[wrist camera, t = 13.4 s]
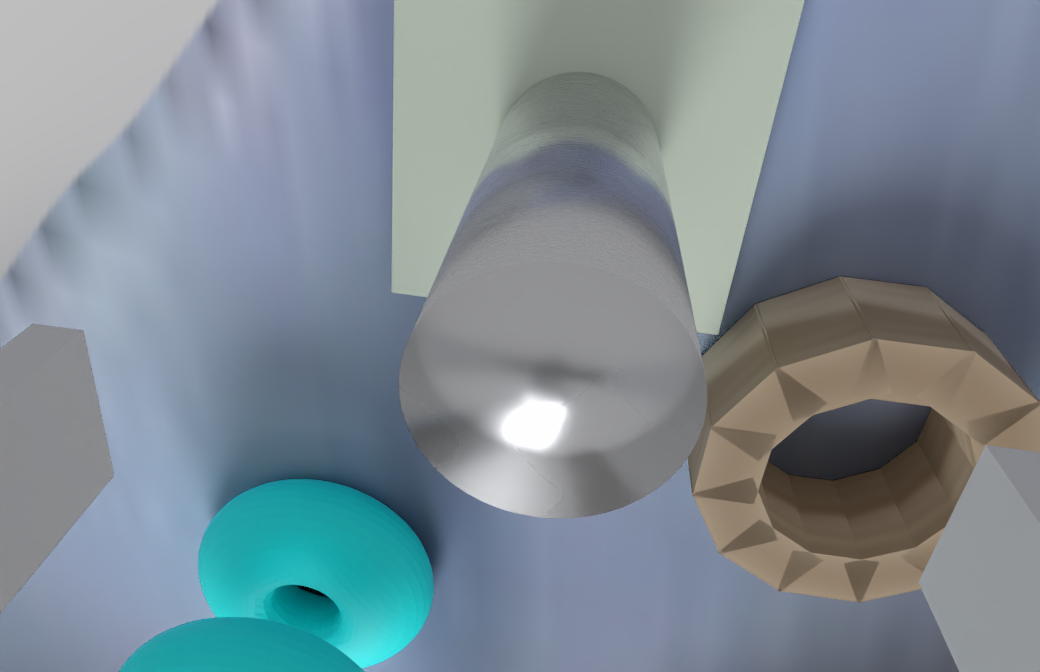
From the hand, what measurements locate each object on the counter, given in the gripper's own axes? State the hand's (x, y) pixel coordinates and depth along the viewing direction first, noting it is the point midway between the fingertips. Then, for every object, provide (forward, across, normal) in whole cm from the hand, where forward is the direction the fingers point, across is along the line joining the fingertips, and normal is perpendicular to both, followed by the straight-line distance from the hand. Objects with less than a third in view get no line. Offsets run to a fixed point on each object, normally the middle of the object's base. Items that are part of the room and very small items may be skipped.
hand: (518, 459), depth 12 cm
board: (+15, 0, -1) cm, 15 cm away
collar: (+15, -11, +8) cm, 20 cm away
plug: (+14, 0, 0) cm, 14 cm away
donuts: (+16, +8, +19) cm, 26 cm away
